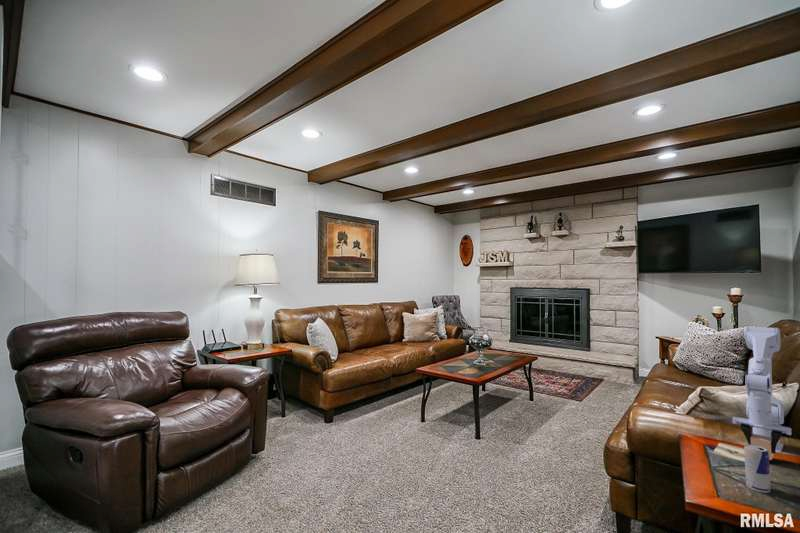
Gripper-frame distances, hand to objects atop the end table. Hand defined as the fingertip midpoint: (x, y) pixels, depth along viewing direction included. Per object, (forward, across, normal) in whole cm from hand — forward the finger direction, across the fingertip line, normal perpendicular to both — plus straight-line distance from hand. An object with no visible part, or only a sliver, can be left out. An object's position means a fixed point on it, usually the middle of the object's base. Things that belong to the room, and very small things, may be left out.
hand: (762, 449), depth 130 cm
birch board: (+3, -8, 0) cm, 9 cm away
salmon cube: (+2, 0, 0) cm, 2 cm away
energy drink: (+4, +2, -24) cm, 25 cm away
